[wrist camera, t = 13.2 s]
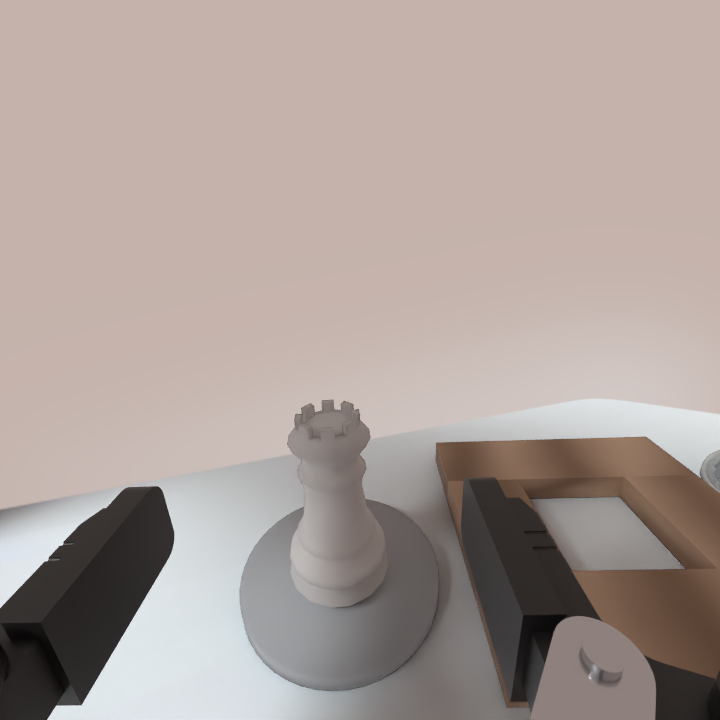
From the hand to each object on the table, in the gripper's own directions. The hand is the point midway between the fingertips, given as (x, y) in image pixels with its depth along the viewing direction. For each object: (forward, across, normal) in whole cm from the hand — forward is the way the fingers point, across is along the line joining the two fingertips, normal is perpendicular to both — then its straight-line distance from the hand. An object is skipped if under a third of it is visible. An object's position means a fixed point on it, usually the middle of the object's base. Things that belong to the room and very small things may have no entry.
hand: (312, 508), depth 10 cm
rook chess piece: (+5, 0, +8) cm, 9 cm away
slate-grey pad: (+5, 0, +9) cm, 10 cm away
